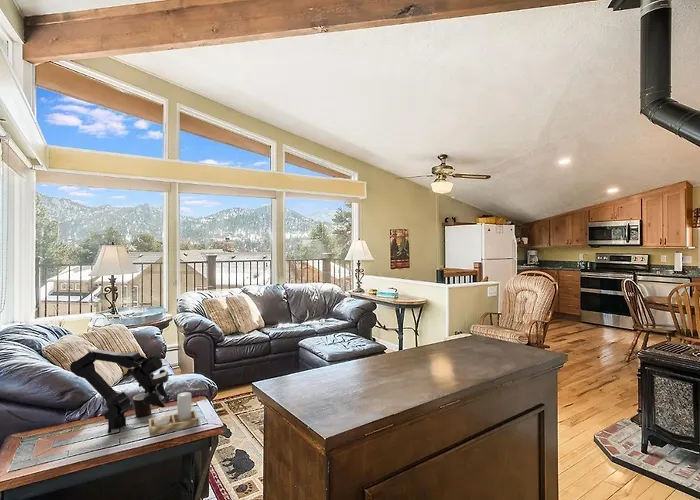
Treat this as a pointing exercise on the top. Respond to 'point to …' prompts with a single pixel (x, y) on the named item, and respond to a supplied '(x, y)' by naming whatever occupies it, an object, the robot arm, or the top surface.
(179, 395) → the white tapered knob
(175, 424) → the open wooden box
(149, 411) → the coffee mug
